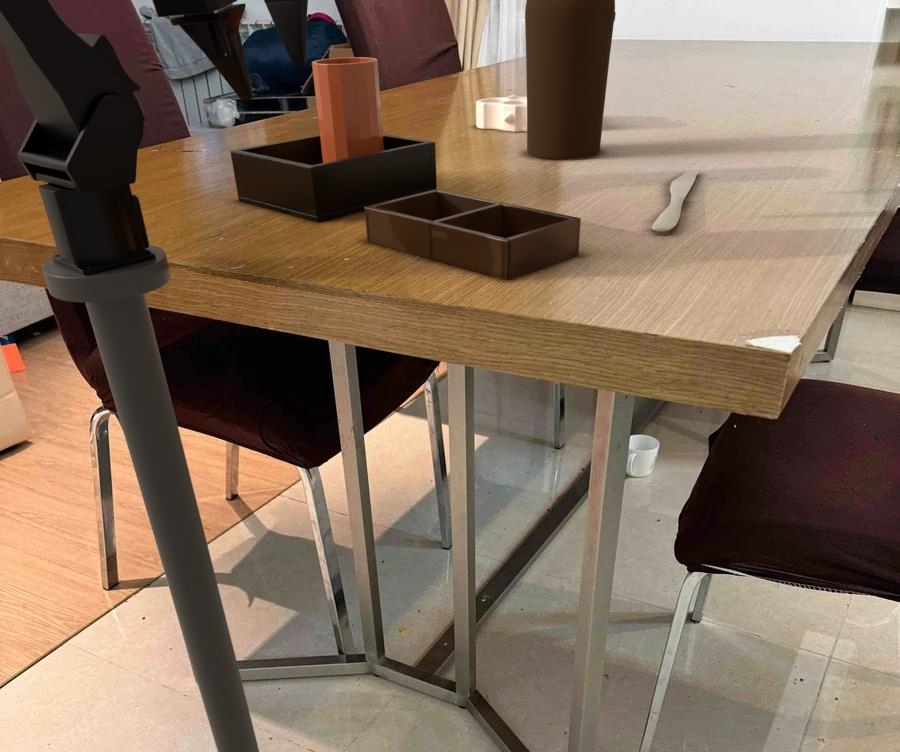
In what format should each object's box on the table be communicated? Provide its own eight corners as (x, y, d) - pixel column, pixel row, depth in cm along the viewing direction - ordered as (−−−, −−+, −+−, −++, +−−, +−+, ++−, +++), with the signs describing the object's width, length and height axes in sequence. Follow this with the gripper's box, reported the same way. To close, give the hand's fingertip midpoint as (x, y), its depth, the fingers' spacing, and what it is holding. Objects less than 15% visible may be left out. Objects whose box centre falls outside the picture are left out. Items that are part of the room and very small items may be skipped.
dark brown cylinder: (558, 164, 103) (569, -100, 88) (506, 152, 110) (508, -94, 95) (621, 152, 108) (643, -101, 93) (567, 142, 115) (579, -95, 100)
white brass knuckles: (607, 119, 129) (584, 135, 118) (496, 116, 134) (464, 132, 124) (608, 93, 127) (585, 108, 116) (496, 92, 132) (464, 105, 122)
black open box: (317, 222, 85) (310, 167, 81) (238, 201, 93) (229, 150, 90) (437, 192, 93) (435, 141, 90) (355, 175, 102) (351, 128, 99)
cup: (388, 190, 92) (379, 62, 85) (326, 195, 92) (312, 65, 84) (383, 178, 98) (374, 56, 90) (325, 181, 97) (311, 59, 90)
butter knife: (640, 226, 77) (674, 226, 76) (678, 169, 97) (705, 169, 96) (640, 233, 77) (673, 232, 76) (678, 175, 97) (704, 174, 96)
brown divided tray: (506, 280, 68) (506, 241, 66) (367, 241, 78) (363, 206, 76) (578, 254, 73) (581, 217, 71) (438, 221, 83) (437, 188, 81)
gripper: (230, -141, 56) (296, 115, 67) (359, -179, 67) (397, 46, 78) (107, -118, 61) (187, 119, 72) (247, -157, 72) (298, 53, 83)
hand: (274, 82), depth 76 cm, fingers open, 9 cm apart
